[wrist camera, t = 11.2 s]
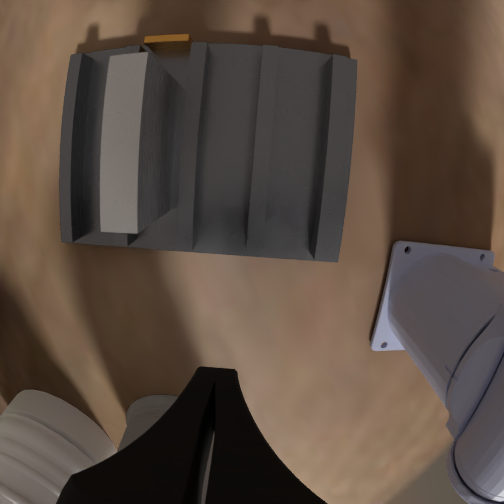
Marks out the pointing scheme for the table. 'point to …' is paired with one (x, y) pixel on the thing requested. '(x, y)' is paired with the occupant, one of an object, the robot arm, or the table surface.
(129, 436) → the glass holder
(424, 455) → the table surface
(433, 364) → the robot arm
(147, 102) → the panel
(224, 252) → the rack
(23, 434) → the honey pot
